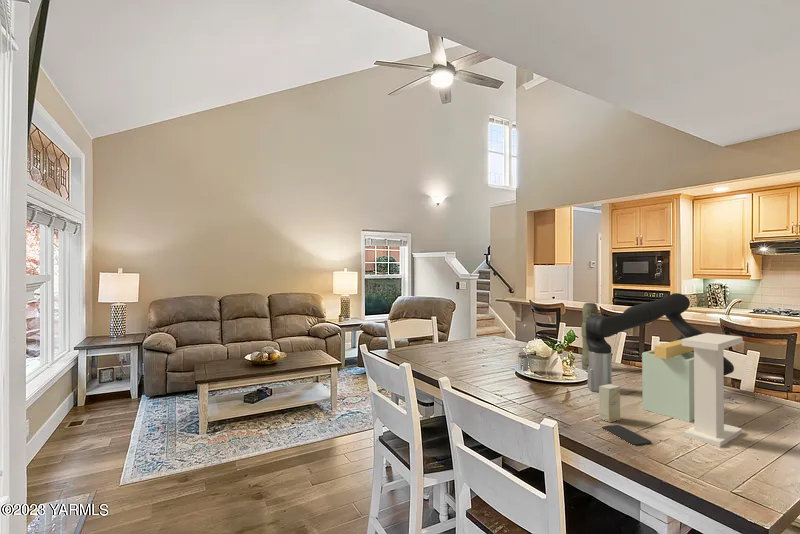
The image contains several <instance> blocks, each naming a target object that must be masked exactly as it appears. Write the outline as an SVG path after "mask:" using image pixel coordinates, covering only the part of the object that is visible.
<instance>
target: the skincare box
mask: <svg viewBox="0 0 800 534" xmlns="http://www.w3.org/2000/svg"><path fill="white" fill-rule="evenodd" d="M598 396H599V397H598V398H599V399H598V400H599V401H598V405H599V407H598V409H599V412H598V413H599V415H598V416H599V420H602V421H604V420H605V422H607V421H608V422H607V423H612V422H616V420H617V421H620V420H621V386H620V385H616V384H607V385H602V386H599V392H598Z"/></svg>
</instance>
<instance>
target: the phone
mask: <svg viewBox="0 0 800 534" xmlns="http://www.w3.org/2000/svg"><path fill="white" fill-rule="evenodd" d="M602 428H603V429H602ZM601 429H602V430H604V429H605V430H604V431H606V430H607V431H609V432H611V433H612V434H611V433H610V434H611V435H613V434H614V435H616V436H618V437H620V438H621V439H620V438H619V439H620V440H622V439H623V440H625V441H626V442H625V441H624V442H625V443H627V442H628V443H627V444H629V443H630V444H629V445H631V444H632V445H631V446H633V445H640V446H646V445H645V444H647V445H652V441H651V440H650V439H648V438H647V437H644V436H642V435H640V434H638V433H636V432H634V431H632V430H630V429H628V428H626V427H624V426H622V425H619V424H613V425H605V426H602V427H601ZM607 431H606V432H607ZM609 432H608V433H609ZM614 435H613V436H614ZM616 436H615V437H616ZM618 437H617V438H618ZM623 440H622V441H623Z"/></svg>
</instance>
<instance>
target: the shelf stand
mask: <svg viewBox="0 0 800 534" xmlns="http://www.w3.org/2000/svg"><path fill="white" fill-rule="evenodd" d="M684 338H685V339H682V346H689V347H694V419H695V420H694V425H693V426H691V427H690V428H688V429H686V430H683V437H685V438H689V439H691V440H695V441H699V442H701V443H705V444H708V445H712V446H715V447H718V448H722V447H723V446H725V445H726V444H727V443H729V442H731V441H732V440H734V439H735V438H737V437H739V436H740V435H742V434H743V428H741V427H737V426H733V425H729V424H725V421H724V420H725V414H724V413H725V411H724V410H725V408H724V407H725V406H724V405H725V403H724V400H725V399H724V398H725V395H724V394H725V391H724V390H725V389H724V387H725V386H724V385H725V384H724V366H723V356H724V350H725V349H728V348H730V347H731V348H732V347H734V346H737V345H740V344H743V342H744V341H743V338H744V337H743V336H738V335H737V336H736V335H730V334H723V333H722V334H721V333H720V334H719V333H711V332H706V333H703V334H701V335H697V336H693V337H689V338H686V337H684Z"/></svg>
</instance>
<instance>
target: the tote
mask: <svg viewBox="0 0 800 534" xmlns="http://www.w3.org/2000/svg"><path fill="white" fill-rule="evenodd" d="M641 370H642V371H641V374H642V375H641V377H642V378H641V383H642V384H641V385H642V386H641V387H642V388H641V389H642V394H641V395H642V399H641V400H642V401H641V402H642V410H643V409H644V410H645V411H647V412H652V413H655V414H657V415H658V414H659V415H661V414H662V415H663V416H665V415H666V417H669V416H670V417H669V418H672V417H673V419H676V418H677V419H676V420H679V419H680V421H683V422H687V423H690V422H692V421H693V422H694V421H695V419H694V352H688V353H684V354H681V355H678V356H674V357H671V358H667V359H664V358H658V357H654V349H651V350H648V351H644V352H642V353H641ZM644 410H643V411H644Z"/></svg>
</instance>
